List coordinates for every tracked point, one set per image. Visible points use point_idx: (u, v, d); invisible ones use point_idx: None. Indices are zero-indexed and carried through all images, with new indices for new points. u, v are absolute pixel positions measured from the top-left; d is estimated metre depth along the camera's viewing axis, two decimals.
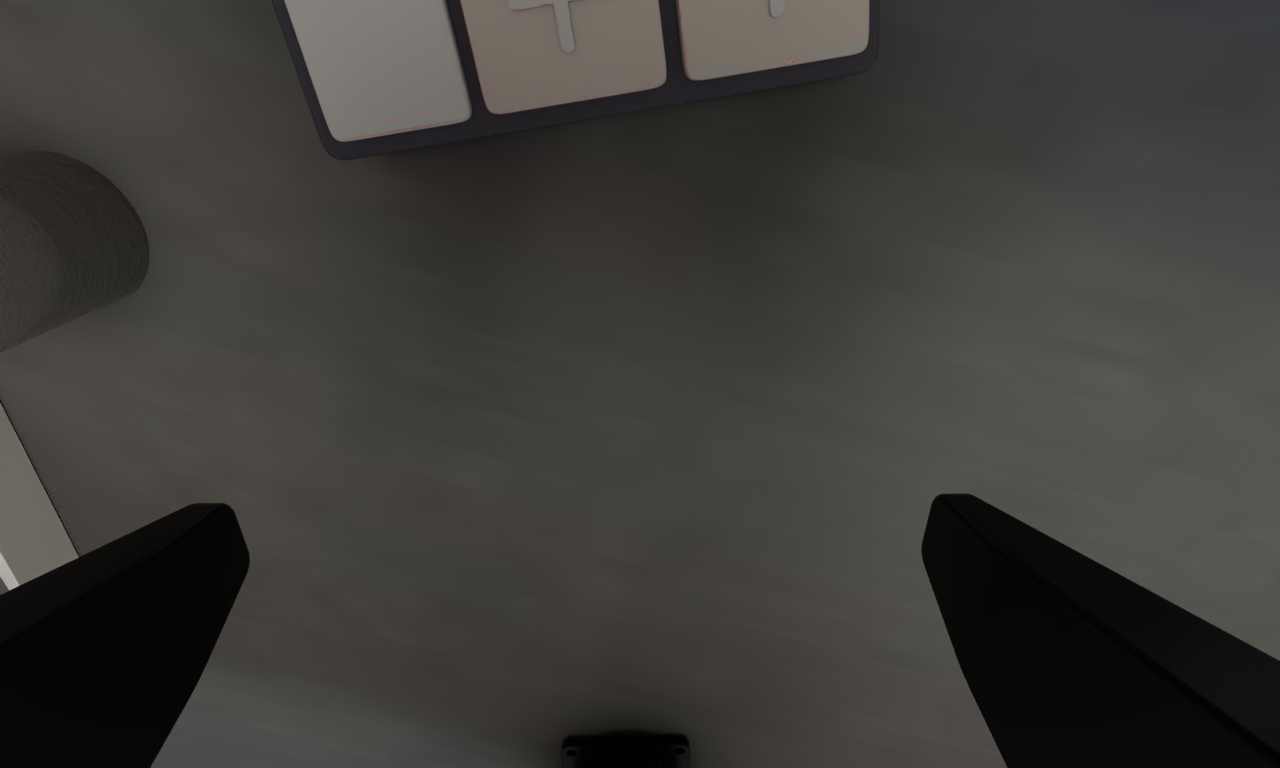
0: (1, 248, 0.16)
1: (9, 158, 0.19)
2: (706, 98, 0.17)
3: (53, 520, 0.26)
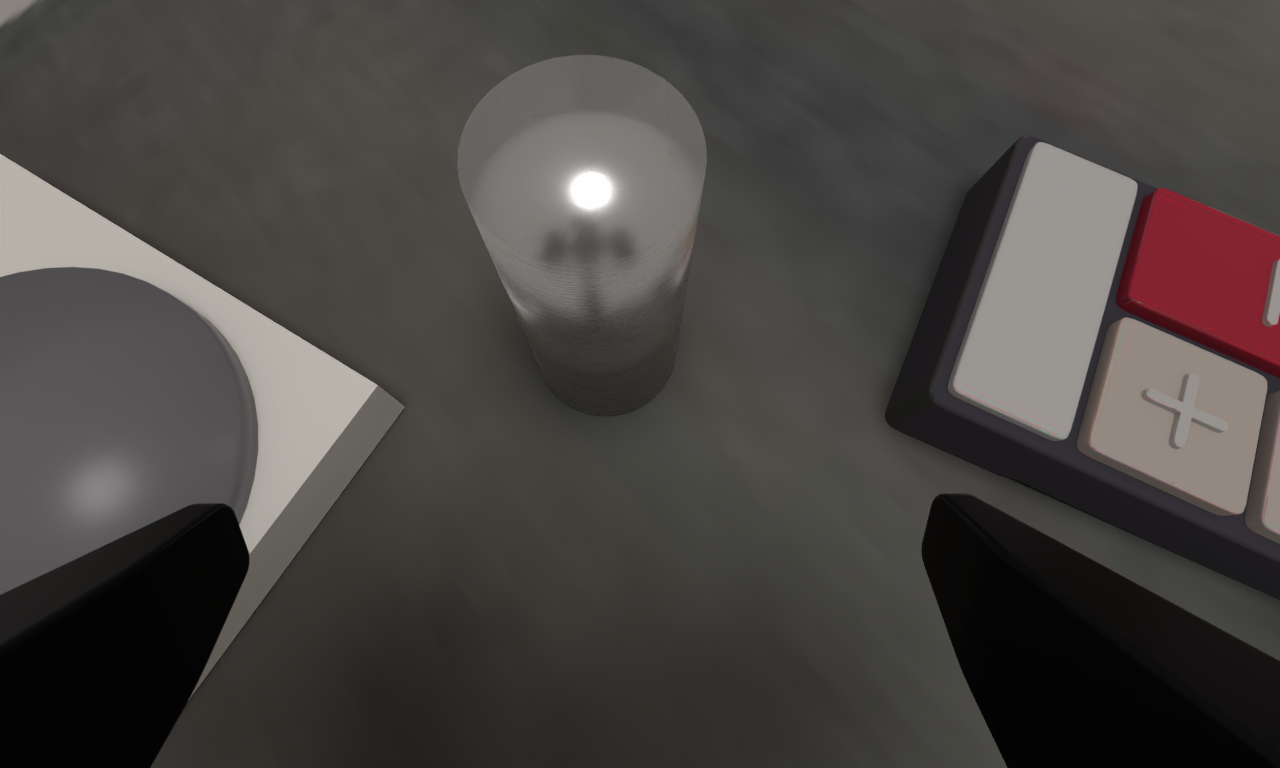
0: (682, 311, 0.18)
1: None
2: (1255, 550, 0.19)
3: (288, 559, 0.21)
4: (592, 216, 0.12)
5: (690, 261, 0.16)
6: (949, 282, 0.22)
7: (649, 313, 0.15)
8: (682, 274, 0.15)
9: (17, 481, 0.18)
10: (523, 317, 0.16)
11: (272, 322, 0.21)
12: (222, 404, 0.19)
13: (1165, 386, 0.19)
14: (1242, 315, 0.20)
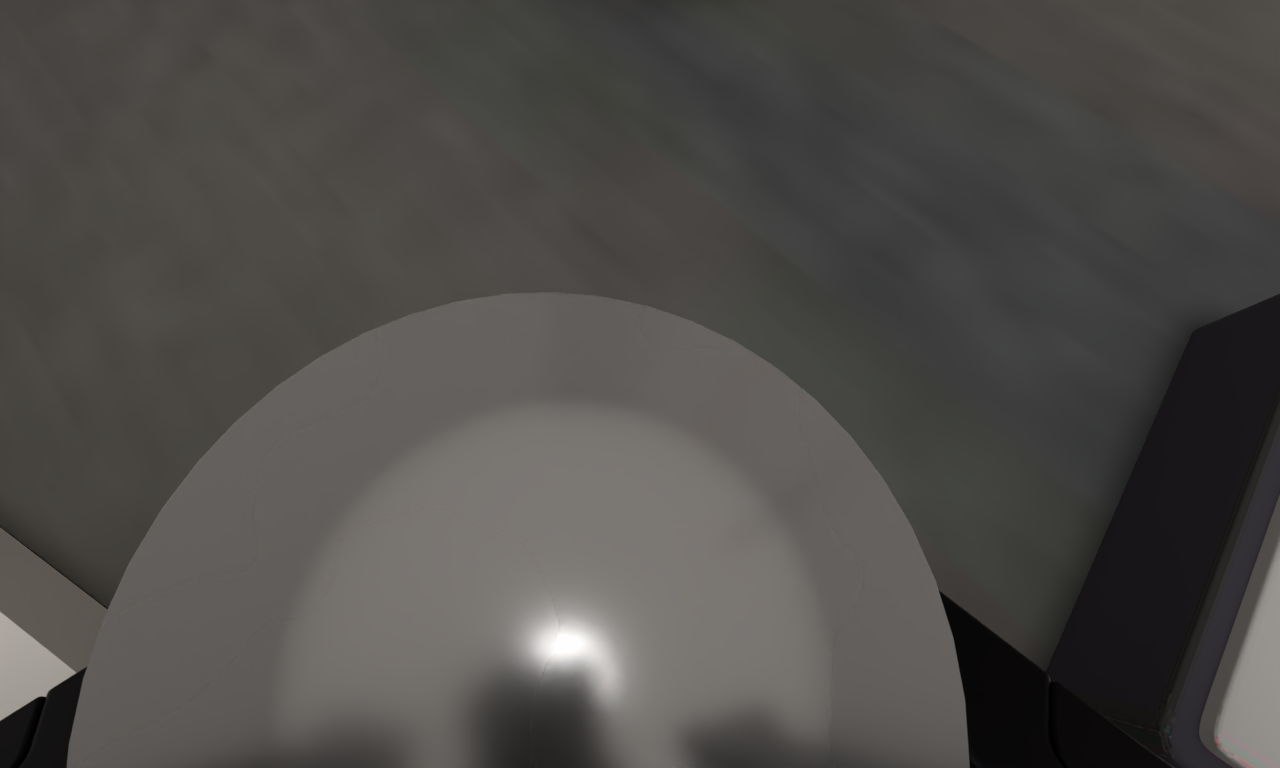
0: None
1: None
2: None
3: None
4: None
5: None
6: (1179, 496, 0.13)
7: None
8: None
9: None
10: None
11: (10, 623, 0.12)
12: None
13: None
14: None
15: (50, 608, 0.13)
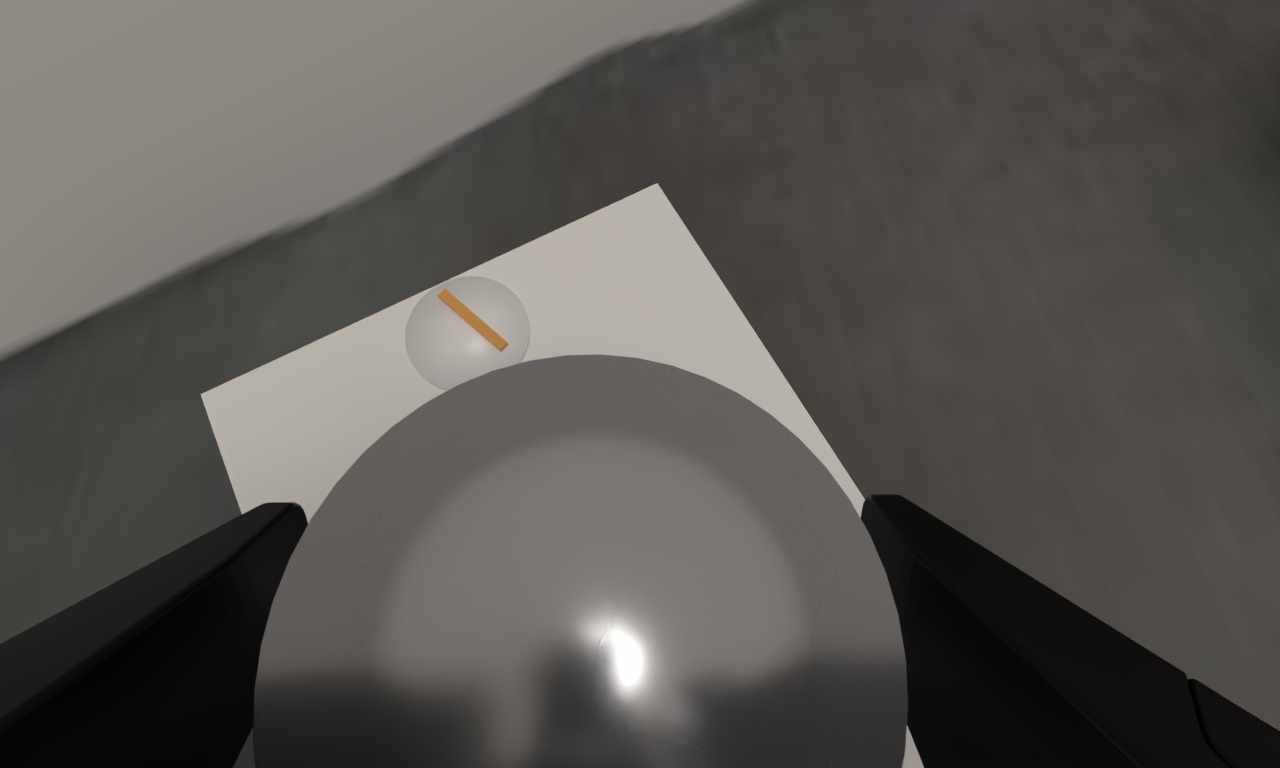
0: None
1: None
2: None
3: None
4: None
5: None
6: None
7: None
8: None
9: None
10: None
11: None
12: None
13: None
14: None
15: None
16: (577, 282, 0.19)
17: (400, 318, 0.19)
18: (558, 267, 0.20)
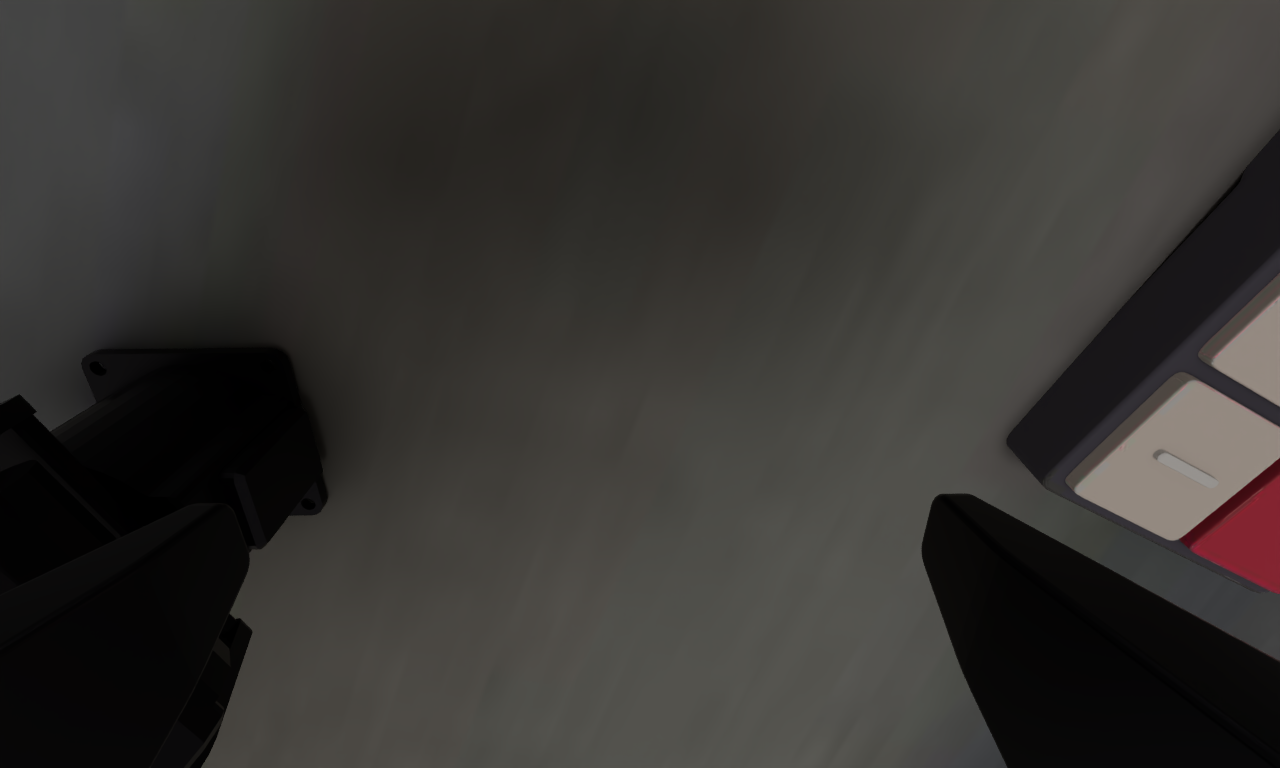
0: None
1: None
2: (1151, 375, 0.19)
3: None
4: None
5: None
6: None
7: None
8: None
9: None
10: None
11: None
12: None
13: None
14: None
15: None
16: None
17: None
18: None
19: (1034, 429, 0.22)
